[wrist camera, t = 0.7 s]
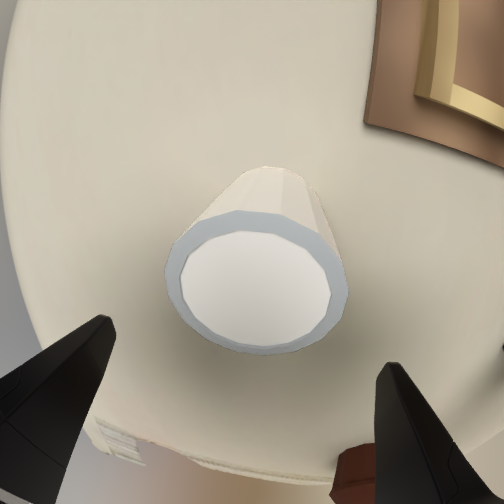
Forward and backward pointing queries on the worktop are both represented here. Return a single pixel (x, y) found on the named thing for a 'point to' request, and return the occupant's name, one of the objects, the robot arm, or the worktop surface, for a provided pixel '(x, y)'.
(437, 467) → the robot arm
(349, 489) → the muffin
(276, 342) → the white cup
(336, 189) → the worktop surface
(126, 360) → the worktop surface
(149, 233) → the worktop surface
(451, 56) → the holder
